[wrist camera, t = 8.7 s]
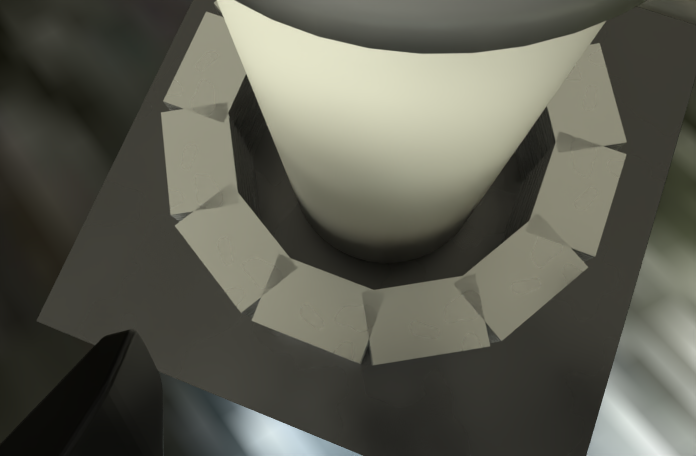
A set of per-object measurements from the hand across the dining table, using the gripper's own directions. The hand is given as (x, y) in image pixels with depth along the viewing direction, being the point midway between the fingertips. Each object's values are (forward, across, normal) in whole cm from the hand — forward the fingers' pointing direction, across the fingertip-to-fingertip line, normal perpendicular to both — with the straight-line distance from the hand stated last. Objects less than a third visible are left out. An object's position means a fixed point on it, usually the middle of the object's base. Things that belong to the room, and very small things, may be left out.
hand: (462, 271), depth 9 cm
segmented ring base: (+8, 0, +3) cm, 9 cm away
